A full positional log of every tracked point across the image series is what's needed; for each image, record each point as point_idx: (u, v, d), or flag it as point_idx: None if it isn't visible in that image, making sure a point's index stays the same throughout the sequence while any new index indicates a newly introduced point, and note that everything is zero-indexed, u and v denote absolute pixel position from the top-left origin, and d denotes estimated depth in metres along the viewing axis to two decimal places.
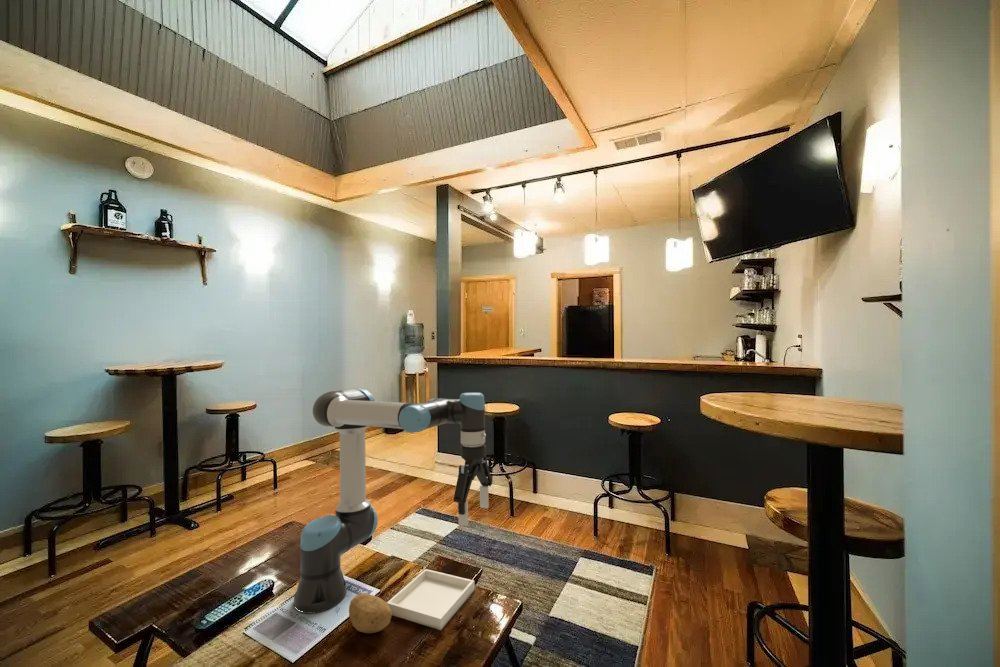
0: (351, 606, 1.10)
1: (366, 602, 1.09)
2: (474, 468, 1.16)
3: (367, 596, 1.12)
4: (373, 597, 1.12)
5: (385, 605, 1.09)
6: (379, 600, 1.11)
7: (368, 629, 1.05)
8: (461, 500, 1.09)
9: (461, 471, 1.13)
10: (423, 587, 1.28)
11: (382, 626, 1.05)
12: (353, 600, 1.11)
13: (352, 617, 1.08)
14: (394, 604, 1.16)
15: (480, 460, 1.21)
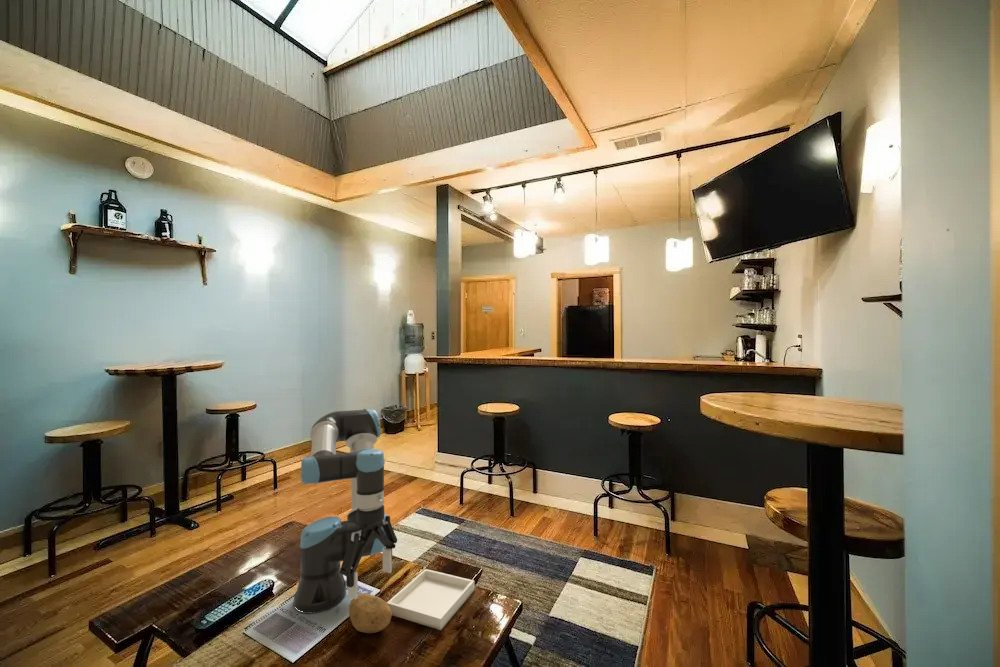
0: (351, 606, 1.10)
1: (366, 602, 1.09)
2: (369, 533, 1.08)
3: (367, 596, 1.12)
4: (373, 597, 1.12)
5: (385, 605, 1.09)
6: (379, 600, 1.11)
7: (368, 629, 1.05)
8: (347, 573, 1.01)
9: (351, 539, 1.05)
10: (423, 587, 1.28)
11: (382, 626, 1.05)
12: (353, 600, 1.11)
13: (352, 617, 1.08)
14: (394, 604, 1.16)
15: (379, 522, 1.13)
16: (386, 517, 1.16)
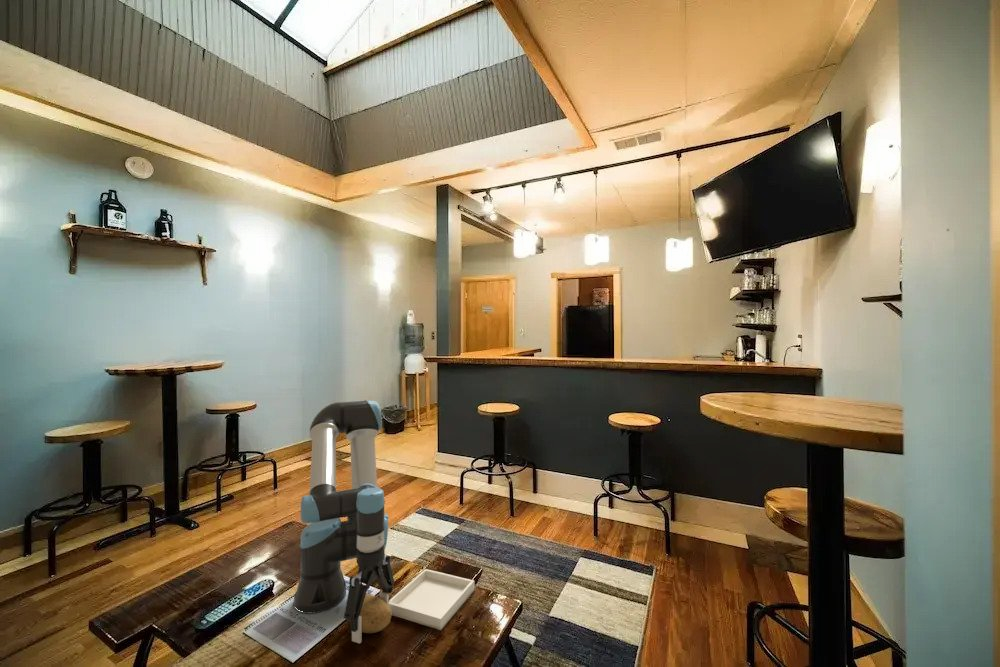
0: None
1: (366, 602, 1.09)
2: (369, 576, 1.08)
3: (367, 596, 1.12)
4: (373, 597, 1.12)
5: (385, 605, 1.09)
6: (379, 600, 1.11)
7: (368, 629, 1.05)
8: (351, 618, 1.02)
9: (352, 584, 1.04)
10: (423, 587, 1.28)
11: (382, 626, 1.05)
12: None
13: None
14: (394, 604, 1.16)
15: None
16: (386, 557, 1.15)
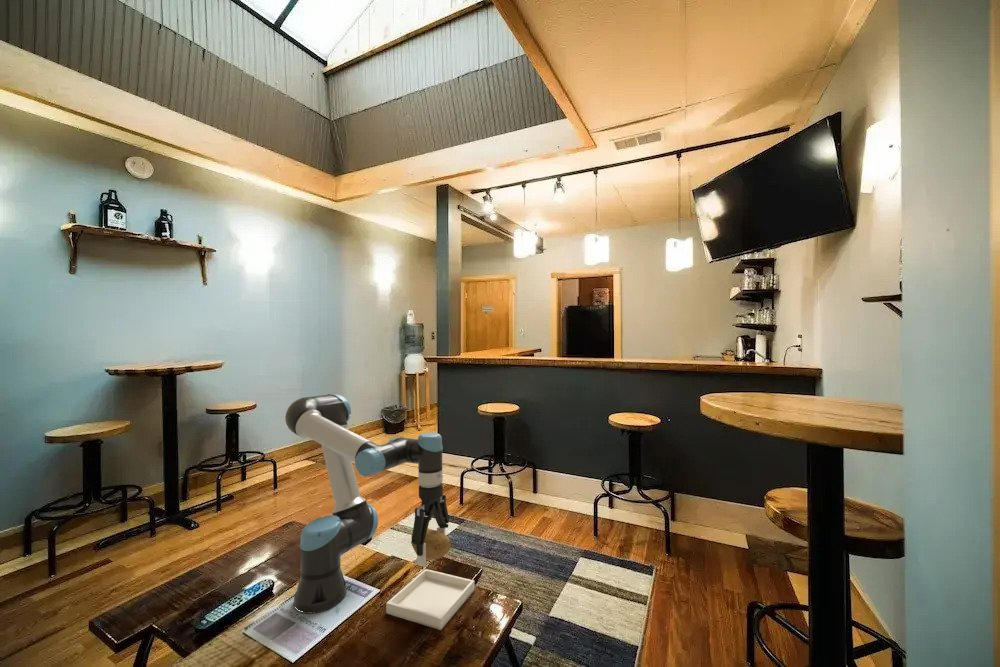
0: None
1: (428, 533, 1.21)
2: (431, 508, 1.20)
3: (427, 529, 1.24)
4: (432, 530, 1.24)
5: (445, 535, 1.21)
6: (438, 532, 1.23)
7: (431, 555, 1.18)
8: (418, 543, 1.14)
9: (417, 514, 1.17)
10: (423, 587, 1.28)
11: (444, 552, 1.18)
12: None
13: (415, 545, 1.20)
14: (394, 604, 1.16)
15: (438, 498, 1.25)
16: (443, 496, 1.28)
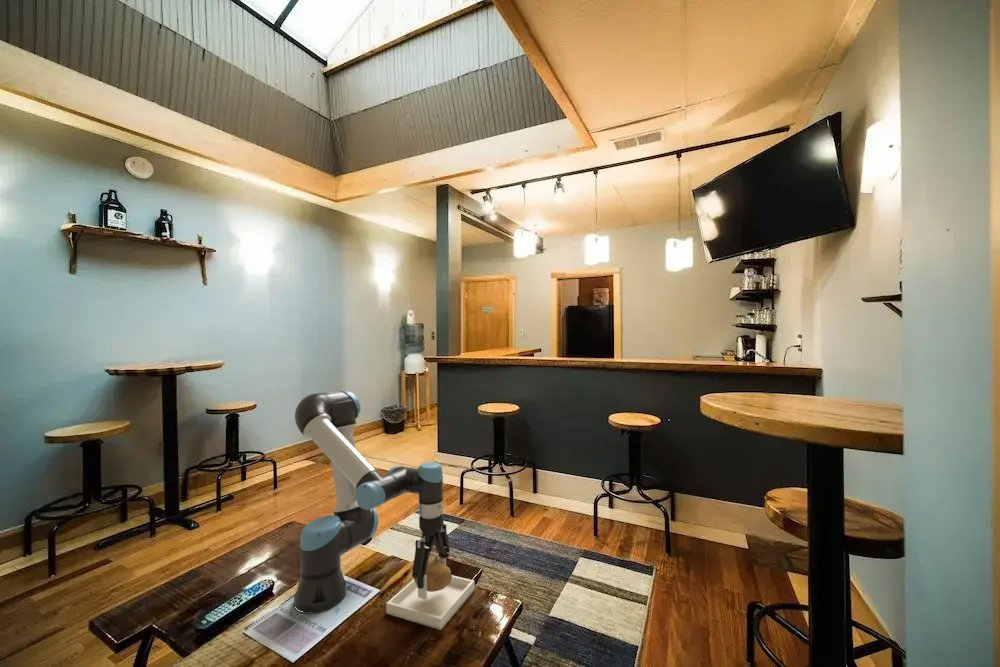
0: None
1: (428, 564, 1.21)
2: (431, 540, 1.20)
3: (428, 560, 1.24)
4: (433, 560, 1.24)
5: (446, 567, 1.21)
6: (439, 563, 1.23)
7: (432, 587, 1.17)
8: (419, 576, 1.14)
9: (418, 546, 1.16)
10: None
11: (445, 584, 1.17)
12: None
13: None
14: (394, 604, 1.16)
15: (439, 528, 1.25)
16: (443, 525, 1.28)
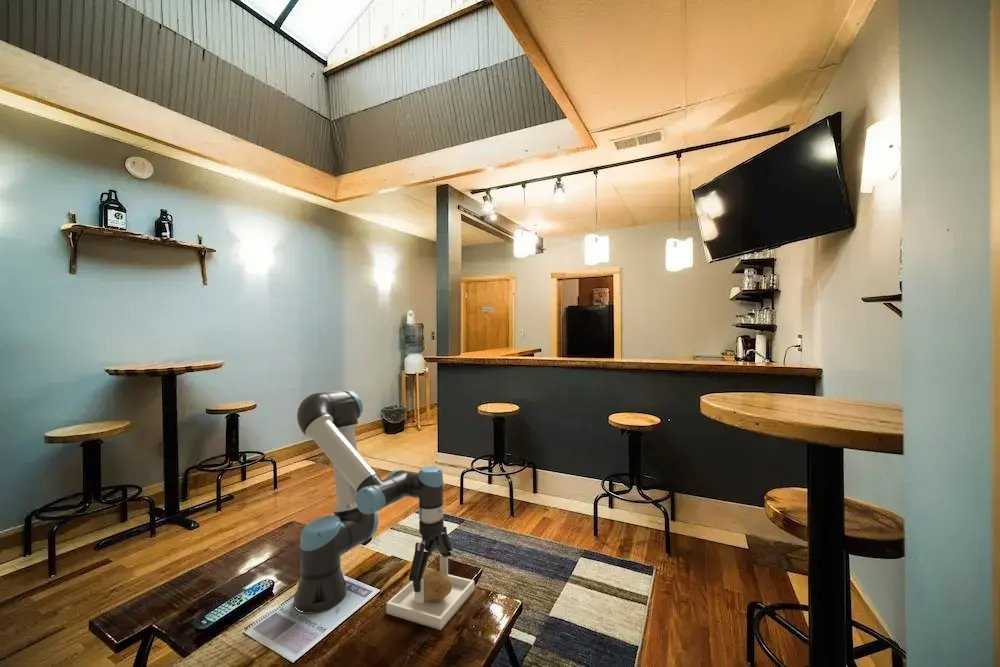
0: None
1: (429, 574, 1.21)
2: (431, 544, 1.20)
3: (428, 569, 1.24)
4: (434, 570, 1.24)
5: (446, 576, 1.21)
6: (439, 572, 1.23)
7: (432, 597, 1.17)
8: (416, 579, 1.13)
9: (417, 549, 1.16)
10: None
11: (445, 594, 1.18)
12: None
13: None
14: (394, 604, 1.16)
15: (439, 533, 1.24)
16: (443, 528, 1.27)
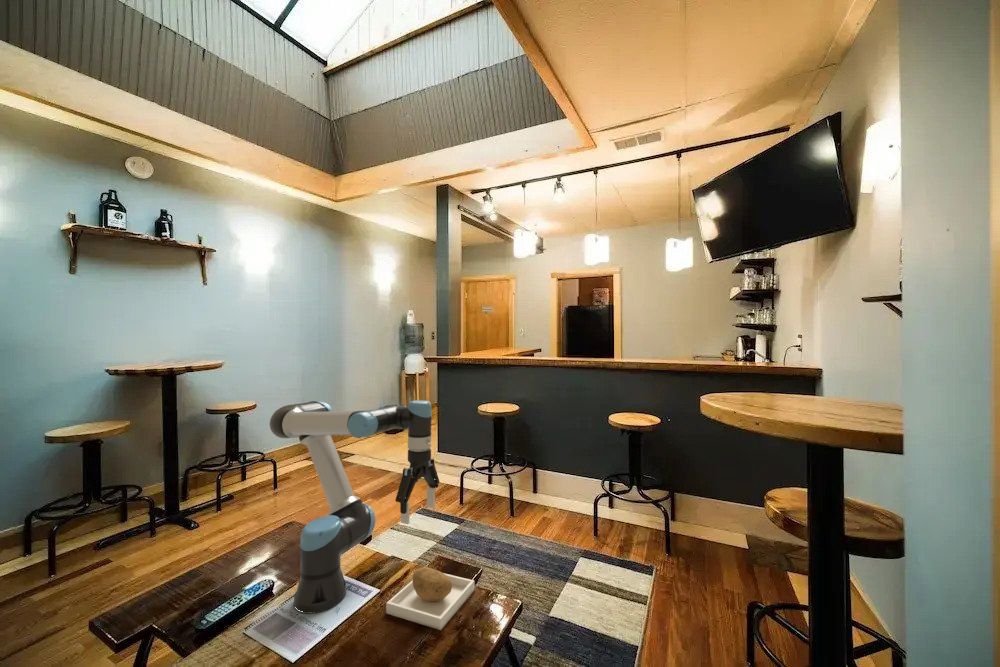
0: (415, 577, 1.22)
1: (429, 574, 1.21)
2: (418, 471, 1.26)
3: (428, 569, 1.24)
4: (434, 570, 1.24)
5: (446, 576, 1.21)
6: (439, 572, 1.23)
7: (432, 597, 1.17)
8: (402, 500, 1.18)
9: (404, 473, 1.22)
10: None
11: (445, 594, 1.18)
12: (416, 572, 1.23)
13: (416, 587, 1.20)
14: (394, 604, 1.16)
15: (426, 463, 1.30)
16: (431, 460, 1.33)
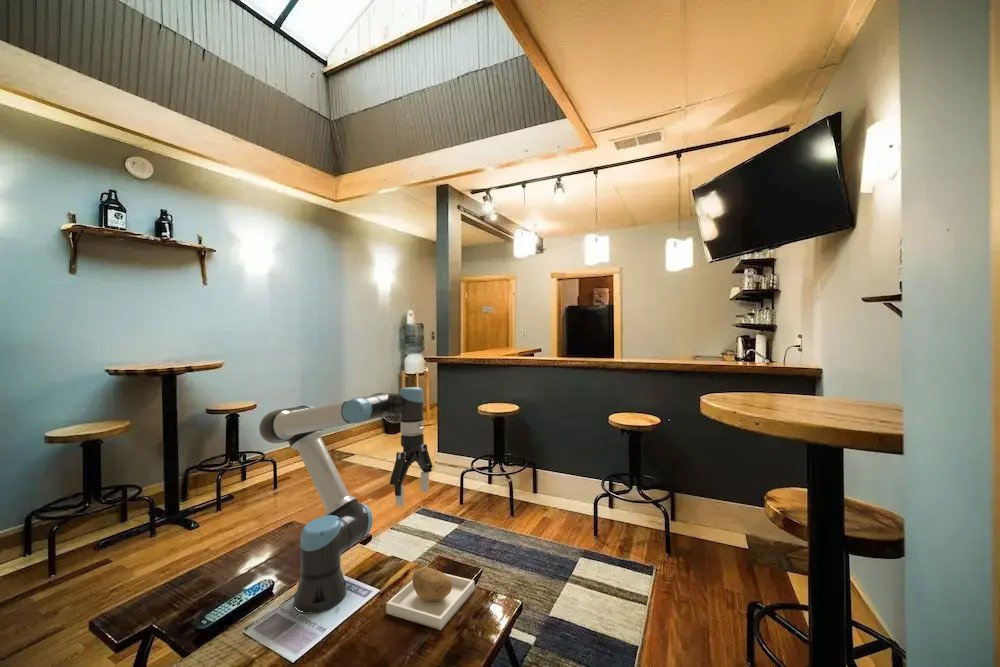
0: (415, 577, 1.22)
1: (429, 574, 1.21)
2: (412, 455, 1.29)
3: (428, 569, 1.24)
4: (434, 570, 1.24)
5: (446, 576, 1.21)
6: (439, 572, 1.23)
7: (432, 597, 1.17)
8: (396, 483, 1.22)
9: (398, 457, 1.25)
10: None
11: (445, 594, 1.18)
12: (416, 572, 1.23)
13: (416, 587, 1.20)
14: (394, 604, 1.16)
15: (419, 448, 1.34)
16: (424, 445, 1.37)
